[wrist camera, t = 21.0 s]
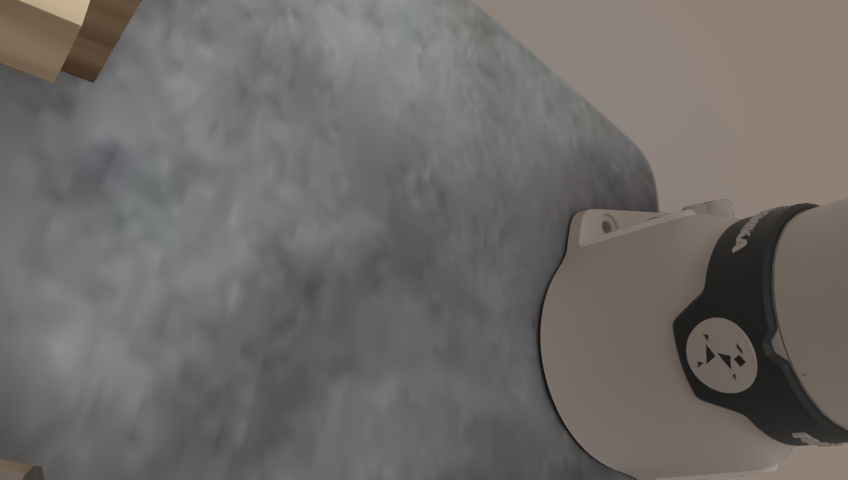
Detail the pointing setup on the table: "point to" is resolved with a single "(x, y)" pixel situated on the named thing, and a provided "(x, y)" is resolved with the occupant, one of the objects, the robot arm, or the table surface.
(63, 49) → the maple bar
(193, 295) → the table surface
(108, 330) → the table surface
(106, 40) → the two step stand
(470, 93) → the table surface
